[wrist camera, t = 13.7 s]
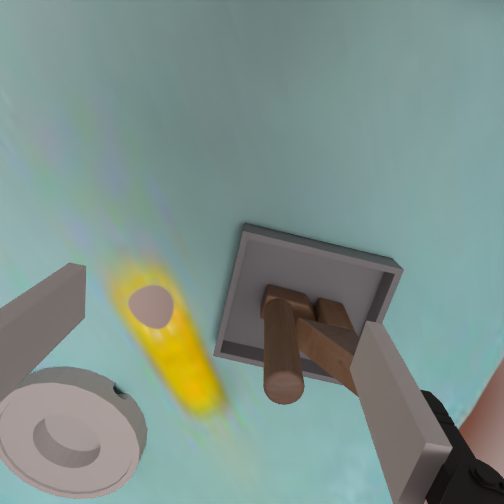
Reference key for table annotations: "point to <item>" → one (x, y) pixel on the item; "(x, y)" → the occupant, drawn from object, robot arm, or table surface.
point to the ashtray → (71, 433)
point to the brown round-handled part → (304, 342)
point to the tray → (300, 288)
